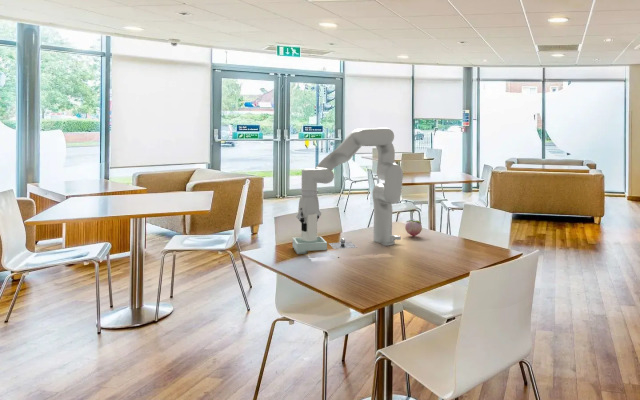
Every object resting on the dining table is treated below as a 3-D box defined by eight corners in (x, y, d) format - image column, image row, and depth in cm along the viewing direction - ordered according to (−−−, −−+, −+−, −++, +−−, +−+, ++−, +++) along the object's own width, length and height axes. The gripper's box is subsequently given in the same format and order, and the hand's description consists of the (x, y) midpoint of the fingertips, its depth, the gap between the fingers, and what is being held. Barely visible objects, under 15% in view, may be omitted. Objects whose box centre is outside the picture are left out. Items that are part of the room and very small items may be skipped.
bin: (320, 245, 257) (320, 236, 257) (327, 252, 243) (327, 242, 242) (292, 247, 254) (292, 237, 254) (297, 254, 240) (297, 243, 240)
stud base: (351, 245, 259) (351, 235, 259) (357, 250, 248) (357, 240, 247) (328, 246, 257) (328, 236, 256) (333, 251, 245) (333, 241, 244)
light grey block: (309, 238, 252) (309, 212, 250) (317, 239, 248) (317, 213, 246) (301, 239, 248) (301, 213, 247) (308, 241, 244) (308, 215, 242)
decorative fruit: (423, 235, 283) (424, 218, 281) (420, 238, 275) (420, 220, 274) (407, 234, 287) (407, 216, 285) (403, 236, 279) (403, 219, 278)
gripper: (317, 191, 253) (317, 227, 256) (290, 194, 242) (290, 231, 244) (327, 193, 248) (327, 229, 250) (300, 195, 236) (300, 233, 239)
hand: (309, 229), depth 247 cm, fingers closed on light grey block, 5 cm apart
